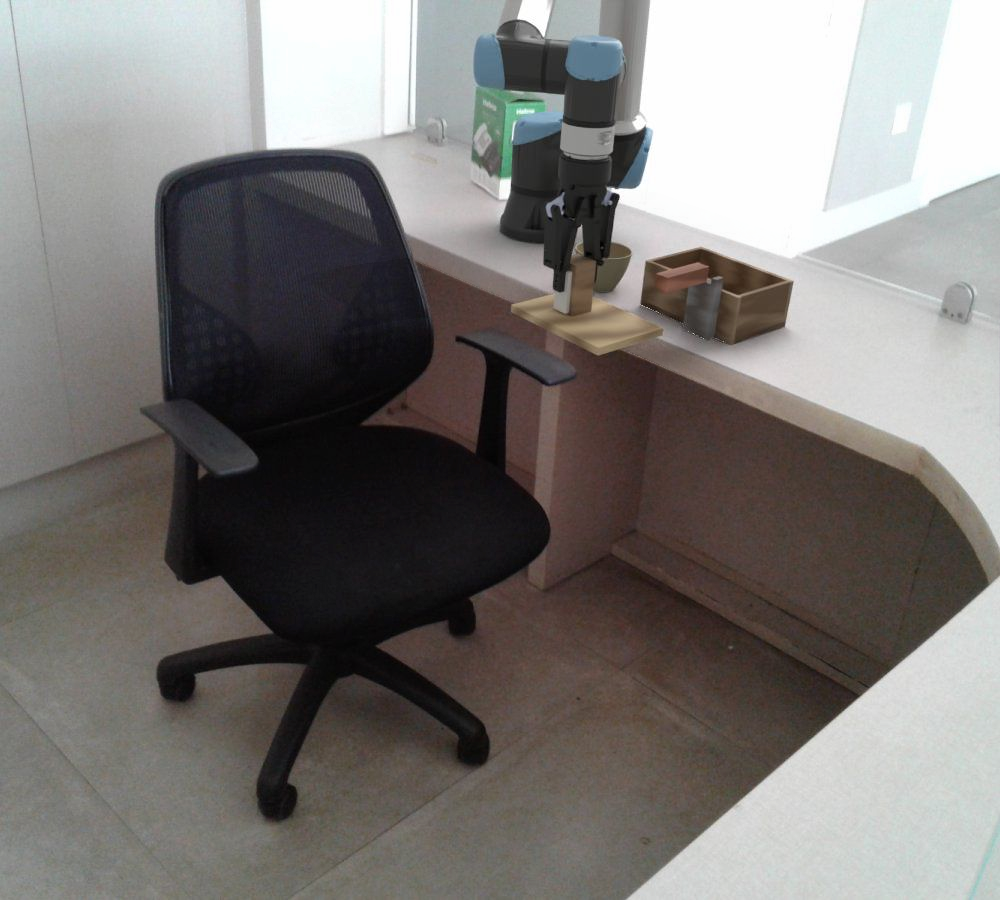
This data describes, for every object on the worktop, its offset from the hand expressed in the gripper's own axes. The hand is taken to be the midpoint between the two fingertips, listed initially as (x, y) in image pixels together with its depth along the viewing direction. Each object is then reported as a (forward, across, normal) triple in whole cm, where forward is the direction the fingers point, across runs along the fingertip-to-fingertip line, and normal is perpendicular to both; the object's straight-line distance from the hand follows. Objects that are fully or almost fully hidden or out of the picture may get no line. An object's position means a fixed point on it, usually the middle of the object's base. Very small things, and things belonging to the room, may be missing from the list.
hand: (572, 307), depth 160 cm
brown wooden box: (+6, +29, -4) cm, 30 cm away
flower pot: (+7, +22, +16) cm, 28 cm away
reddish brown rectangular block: (-3, +15, -8) cm, 17 cm away
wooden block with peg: (+2, 0, -3) cm, 4 cm away
